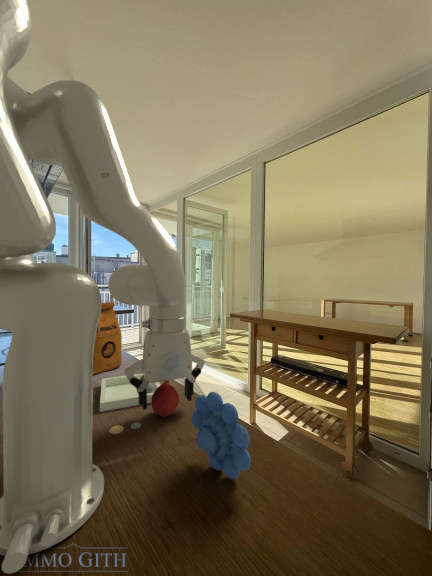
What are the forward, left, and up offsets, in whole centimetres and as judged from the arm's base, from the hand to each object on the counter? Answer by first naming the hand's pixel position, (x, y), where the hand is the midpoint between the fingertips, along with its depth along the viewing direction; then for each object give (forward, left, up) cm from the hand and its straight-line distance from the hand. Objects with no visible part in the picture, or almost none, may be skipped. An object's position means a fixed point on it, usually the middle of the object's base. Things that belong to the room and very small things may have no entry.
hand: (166, 402), depth 53 cm
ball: (+10, +3, -2) cm, 11 cm away
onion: (0, 0, -3) cm, 3 cm away
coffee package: (+34, +14, -3) cm, 37 cm away
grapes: (-18, -4, -3) cm, 19 cm away
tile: (-2, +8, -3) cm, 9 cm away
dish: (+13, +6, -3) cm, 15 cm away
